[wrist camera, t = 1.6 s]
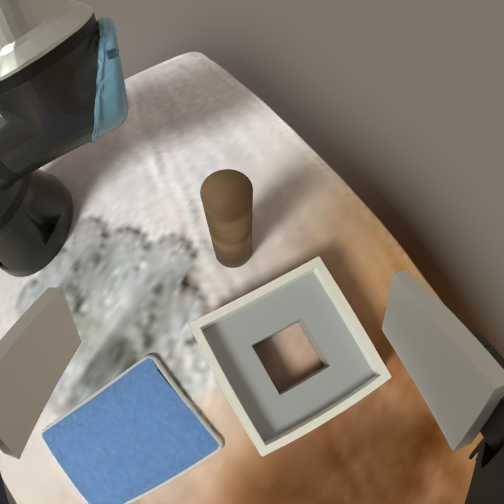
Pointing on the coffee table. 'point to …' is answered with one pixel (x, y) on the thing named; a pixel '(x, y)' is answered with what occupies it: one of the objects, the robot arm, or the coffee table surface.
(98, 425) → the blue rectangular panel
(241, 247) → the peg
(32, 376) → the robot arm
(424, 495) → the coffee table surface
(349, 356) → the tray
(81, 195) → the coffee table surface
